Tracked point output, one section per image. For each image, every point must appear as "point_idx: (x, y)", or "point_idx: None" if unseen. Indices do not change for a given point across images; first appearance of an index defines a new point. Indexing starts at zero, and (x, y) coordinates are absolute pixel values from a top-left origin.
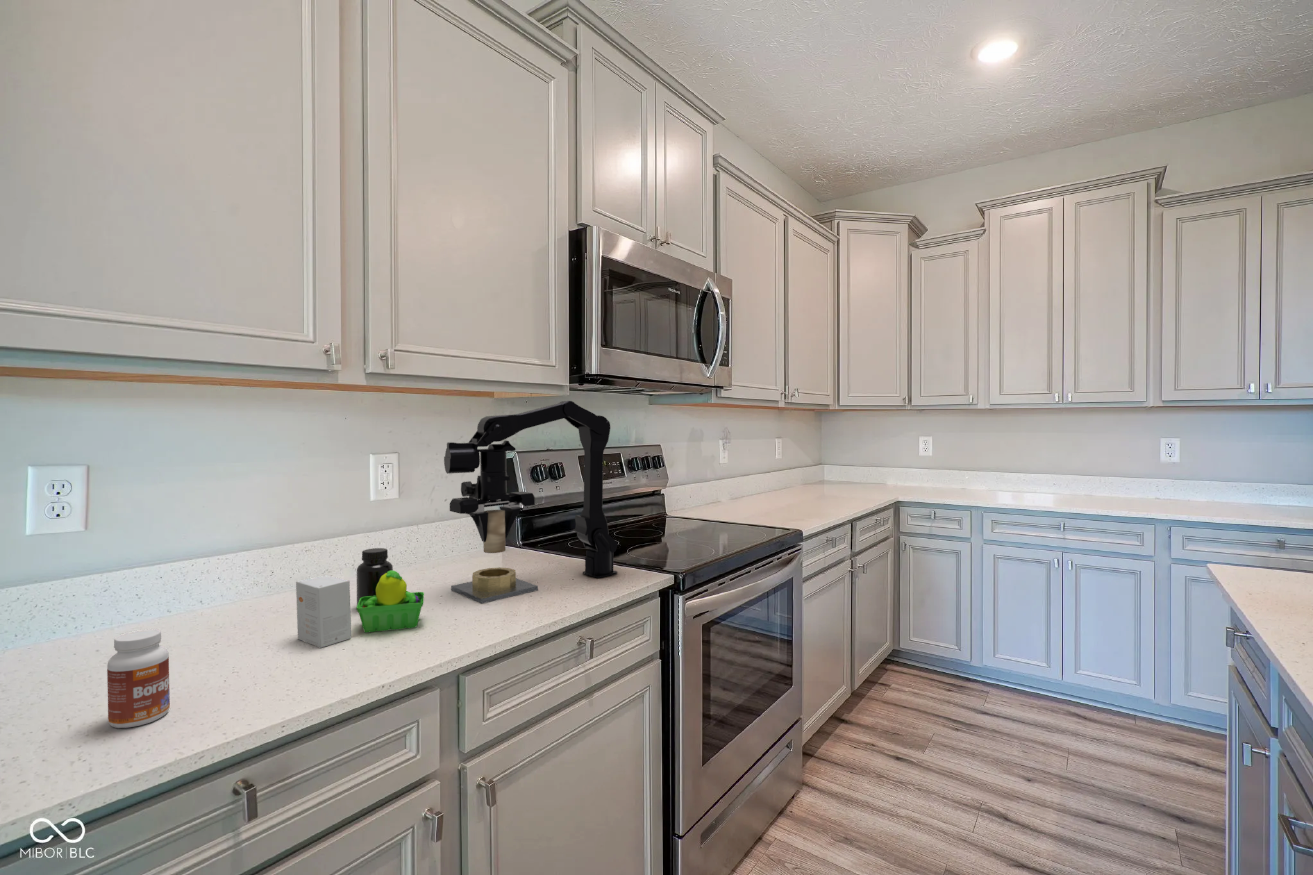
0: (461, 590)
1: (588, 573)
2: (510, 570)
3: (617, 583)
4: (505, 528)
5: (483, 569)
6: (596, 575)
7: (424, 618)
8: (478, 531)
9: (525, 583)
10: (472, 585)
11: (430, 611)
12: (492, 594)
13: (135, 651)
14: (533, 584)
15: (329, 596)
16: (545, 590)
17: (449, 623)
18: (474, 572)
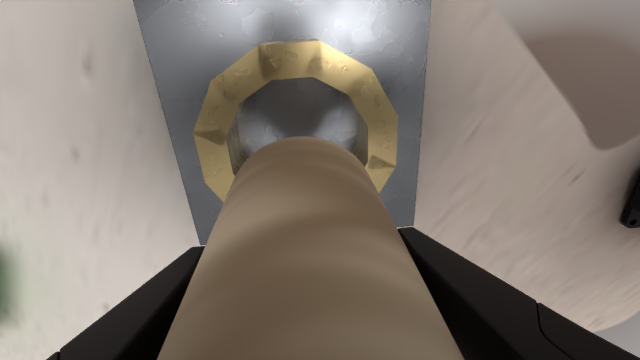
0: (162, 105)
1: (637, 193)
2: (376, 159)
3: (601, 285)
4: None
5: (282, 51)
6: (634, 215)
7: (17, 261)
8: (115, 310)
9: (403, 176)
10: (224, 64)
11: (36, 215)
12: None
13: None
14: (414, 202)
15: None
16: (424, 230)
17: (85, 323)
18: (219, 81)
